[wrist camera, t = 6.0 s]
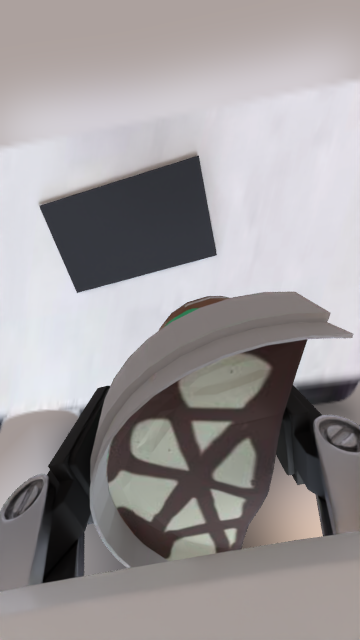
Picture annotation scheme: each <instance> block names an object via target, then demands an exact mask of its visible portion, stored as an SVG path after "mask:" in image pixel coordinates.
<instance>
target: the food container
mask: <svg viewBox="0 0 360 640" xmlns="http://www.w3.org/2000/svg"><path fill="white" fill-rule="evenodd" d="M329 316H330V312H328V311H326V310H325V309H323V308H321V307H320V306H318V305H316V304H315V303H313V302H311V301H310V300H308V299H306V298H305V297H303V296H301V295H300V294H298V293H296V292H263V293H257V294H251V295H245V296H239V297H233V298H228V297H224V296H207V297H204V298H200V299H197V300H194V301H190V302H187V303H186V304H184V305H183V306H181V307H180V308H178V309H177V310H176V311H174V312H173V313H171V315H170V316H169V317H168V318H167V320H166V321H165V322H164V324H163V325H162V326H161V327H160V329H159V331H158V332H157V333H156V334H154V335H153V336H151V337H150V338H149V339H147V340H146V341H145V342H144V343H143V344H142V345H141V346H140V347H139V348H138V349H137V350H136V351H135V352H134V353H133V354H132V355H131V356H130V357H129V358H128V360H127V361H126V362H125V364H124V365H123V367H122V368H121V369H120V371H119V372H118V374H117V375H116V376H115V378H114V380H113V382H112V384H111V386H110V388H109V391H108V393H107V395H106V397H105V400H104V404H103V408H102V412H101V416H100V421H99V425H98V429H97V433H96V438H95V442H94V446H93V450H92V454H91V459H90V480H91V484H90V510H91V514H92V518H93V522H94V526H95V528H96V530H97V532H98V534H99V535H100V537H101V539H102V541H103V543H104V544H105V546H106V547H107V548H108V549H109V550H110V551H111V553H112V554H113V555H114V556H115V557H116V558H117V559H118V560H119V561H120V562H121V563H122V564H123V565H125V566H126V567H127V568H133V567H139V566H145V565H150V564H156V563H162V562H168V561H174V560H180V559H186V558H191V557H197V556H203V555H209V554H215V553H221V552H227V551H233V550H240V549H242V544H243V540H244V537H245V534H246V532H247V529H248V526H249V524H250V522H251V521H252V519H253V518H254V516H255V515H256V513H257V512H258V510H259V509H260V507H261V506H262V504H263V502H264V500H265V498H266V497H267V494H268V492H269V488H270V483H271V478H272V474H273V469H274V463H275V457H276V451H277V444H278V438H279V433H280V428H281V423H282V419H283V414H284V411H285V408H286V405H287V401H288V398H289V395H290V392H291V388H292V385H293V382H294V379H295V375H296V372H297V369H298V366H299V363H300V360H301V357H302V354H303V351H304V348H305V345H306V342H307V339H321V338H352V336H353V334H352V333H350V332H348V331H346V330H343V329H341V328H339V327H337V326H334V325H332V324H330V323H328V322H327V321H328V319H329Z"/></svg>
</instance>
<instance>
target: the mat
mask: <svg viewBox="0 0 360 640" xmlns="http://www.w3.org/2000/svg"><path fill="white" fill-rule="evenodd" d="M40 209H41V211H42V213H43V216H44V218H45V220H46V222H47V225H48V227H49V229H50V232H51V234H52V236H53V238H54V241H55V243H56V245H57V248H58V250H59V252H60V255H61V257H62V259H63V261H64V264H65V266H66V268H67V271H68V273H69V275H70V277H71V280H72V282H73V284H74V287H75V289H76V291H77V293H78V292H82V291H85V290H89V289H93V288H97V287H100V286H104V285H108V284H111V283H115V282H119V281H122V280H126V279H130V278H134V277H137V276H141V275H145V274H148V273H152V272H156V271H159V270H163V269H167V268H171V267H174V266H178V265H182V264H185V263H189V262H193V261H196V260H200V259H204V258H207V257H211V256H215V255H217V254H216V249H215V243H214V238H213V232H212V227H211V221H210V216H209V210H208V205H207V200H206V194H205V189H204V183H203V178H202V172H201V167H200V161H199V156H196V157H192V158H189V159H186V160H183V161H180V162H177V163H173V164H170V165H167V166H164V167H161V168H158V169H154V170H151V171H148V172H145V173H142V174H139V175H135V176H132V177H129V178H126V179H123V180H120V181H117V182H113V183H110V184H107V185H104V186H101V187H98V188H94V189H91V190H88V191H85V192H82V193H79V194H75V195H72V196H69V197H66V198H63V199H60V200H56V201H53V202H50V203H47V204H44V205H41V206H40Z"/></svg>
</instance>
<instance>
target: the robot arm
mask: <svg viewBox="0 0 360 640" xmlns="http://www.w3.org/2000/svg"><path fill="white" fill-rule="evenodd" d="M109 388H110V386H105V387H100V388H98V389H97V390H96V392H95V393H94V395H93V396H92V398H91V399H90V401H89V403H88V404H87V406H86V407H85V409H84V411H83V412H82V414H81V415H80V417H79V418H78V420H77V422H76V423H75V425H74V426H73V428H72V429H71V431H70V433H69V434H68V436H67V437H66V439H65V440H64V442H63V444H62V445H61V447H60V448H59V450H58V452H57V453H56V455H55V456H54V458H53V459H52V461H51V462H50V464H49V466H48V467H49V468H50V471H49V472H48V474H47V475H46V474H39V475H36V476H34V477H32V478H30V479H28V480H27V481H26V482H24V483H23V484H22V485H21V486H20V487H18V488H17V489H16V490H15V491H14V493H12V495H11V496H10V497H9V498H8V500H7V501H6V503H5V504H4V505H3V507H2V509H1V511H0V640H360V425H358V424H357V423H355V422H353V421H351V420H349V419H347V418H344V417H341V416H336V415H323V416H322V415H321V414H320V412H318V411H317V410H316V408H314V406H313V405H312V404H311V403H310V402H309V401H308V400H307V399H306V398H305V397H304V396H303V395H302V394H301V393H300V392H299V391H298V390H297V389H296V388H295V387H294V386H293V385H292V388H291V392H290V395H289V398H288V401H287V405H286V408H285V411H284V414H283V419H282V423H281V428H280V433H279V438H278V444H277V451H276V455H277V457H278V459H279V461H280V463H281V465H282V467H283V468H284V470H285V472H286V474H287V475H292V476H293V478H294V480H295V481H296V483H297V485H300V484H305V485H306V487H307V489H308V490H310V491H311V492H313V493H315V494H316V499H317V505H318V510H319V516H320V522H321V528H322V533H323V537H317V538H309V539H301V540H294V541H288V542H283V543H276V544H271V545H264V546H258V547H252V548H246V549H240V550H233V551H227V552H221V553H215V554H209V555H203V556H197V557H191V558H186V559H180V560H174V561H168V562H162V563H156V564H150V565H145V566H139V567H133V568H127V569H122V570H116V571H110V572H105V573H98V574H93V575H88V576H84V531H85V529H86V526H87V523H88V524H92V523H94V522H93V518H92V514H91V510H90V484H91V480H90V459H91V454H92V450H93V446H94V442H95V438H96V433H97V429H98V425H99V421H100V416H101V412H102V408H103V404H104V400H105V397H106V395H107V393H108V391H109Z"/></svg>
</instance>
